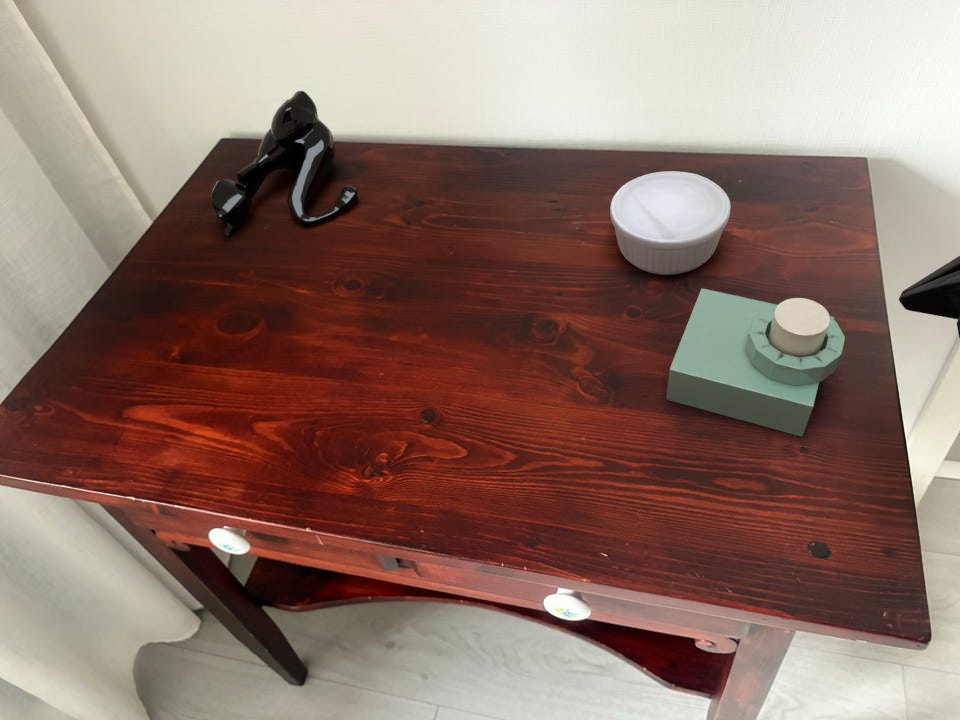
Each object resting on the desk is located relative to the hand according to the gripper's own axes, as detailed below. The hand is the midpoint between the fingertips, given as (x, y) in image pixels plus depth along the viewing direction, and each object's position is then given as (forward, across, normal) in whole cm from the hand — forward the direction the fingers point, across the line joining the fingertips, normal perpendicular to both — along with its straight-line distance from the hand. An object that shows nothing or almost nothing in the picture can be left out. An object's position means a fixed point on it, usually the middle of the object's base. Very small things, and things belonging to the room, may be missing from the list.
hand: (903, 301), depth 51 cm
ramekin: (+25, -11, -7) cm, 28 cm away
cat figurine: (+53, +1, -35) cm, 64 cm away
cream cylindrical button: (+9, 0, +1) cm, 9 cm away
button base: (+15, 0, +2) cm, 15 cm away
